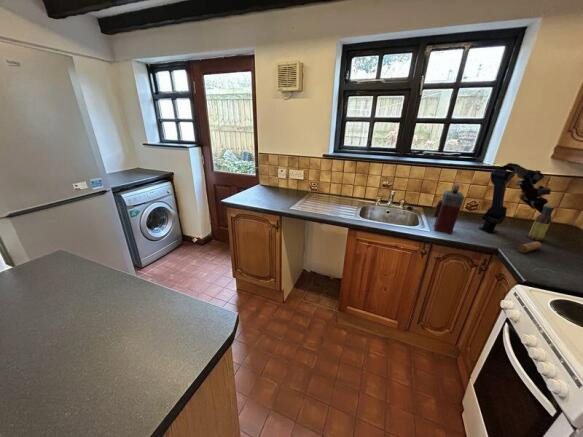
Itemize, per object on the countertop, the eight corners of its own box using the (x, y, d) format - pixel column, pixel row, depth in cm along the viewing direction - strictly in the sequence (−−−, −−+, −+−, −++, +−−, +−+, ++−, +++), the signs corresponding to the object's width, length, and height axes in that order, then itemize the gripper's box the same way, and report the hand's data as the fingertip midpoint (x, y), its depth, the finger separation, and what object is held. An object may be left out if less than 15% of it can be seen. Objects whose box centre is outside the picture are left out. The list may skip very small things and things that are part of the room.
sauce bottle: (544, 242, 137) (562, 209, 129) (532, 240, 138) (548, 208, 130) (536, 236, 143) (552, 205, 135) (524, 235, 144) (539, 204, 136)
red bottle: (429, 224, 153) (442, 181, 142) (450, 228, 149) (465, 184, 137) (430, 230, 146) (443, 185, 135) (451, 234, 141) (467, 188, 130)
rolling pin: (523, 254, 123) (526, 248, 122) (514, 250, 127) (517, 244, 125) (541, 249, 129) (545, 243, 127) (532, 246, 132) (535, 239, 130)
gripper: (554, 185, 132) (565, 209, 134) (536, 179, 149) (546, 200, 150) (529, 194, 138) (539, 218, 139) (514, 187, 154) (524, 208, 156)
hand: (538, 210), depth 146 cm, fingers open, 9 cm apart
